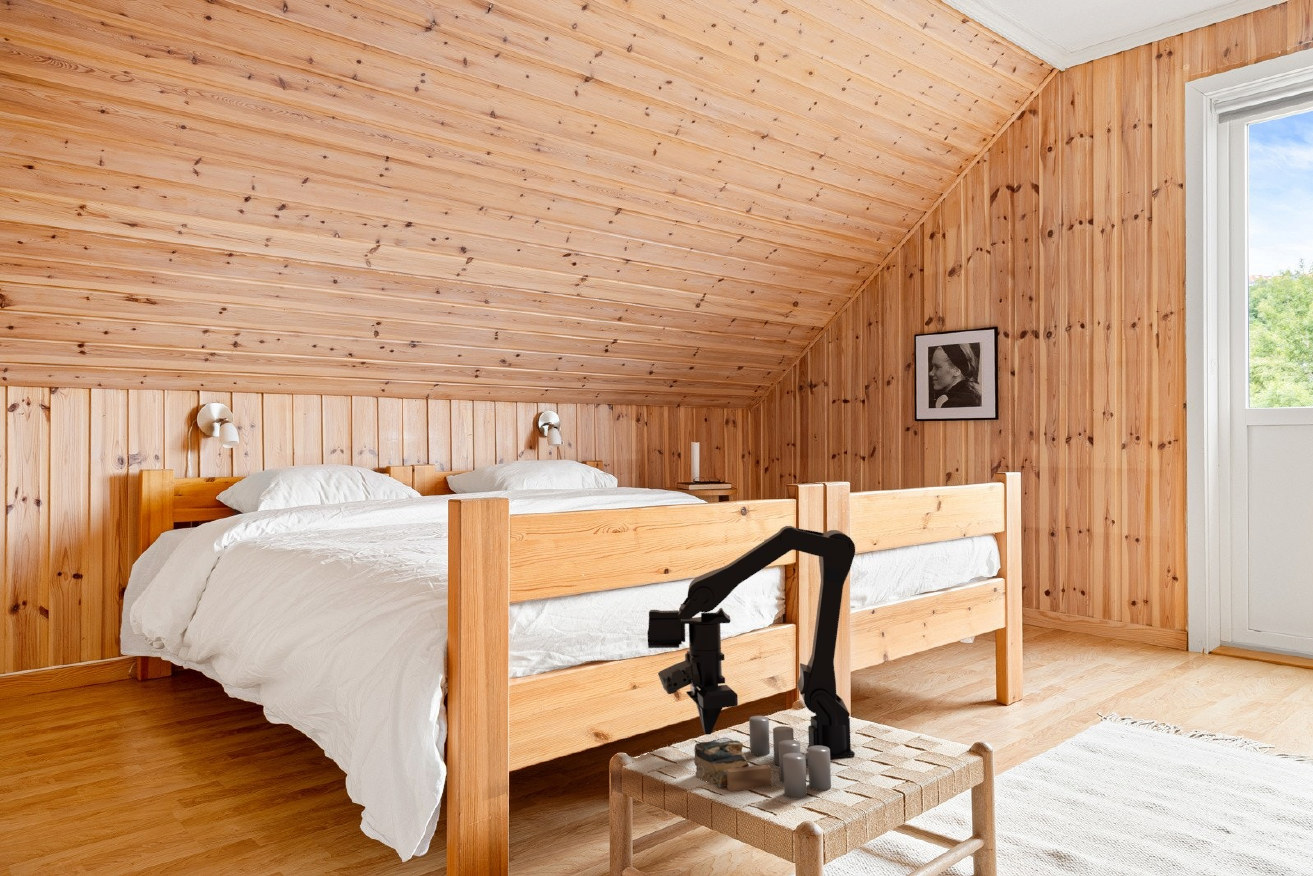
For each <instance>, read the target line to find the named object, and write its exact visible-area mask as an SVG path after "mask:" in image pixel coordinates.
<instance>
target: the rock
mask: <svg viewBox="0 0 1313 876" xmlns="http://www.w3.org/2000/svg"><path fill="white" fill-rule="evenodd" d="M743 748H744V744H743V743H742V742H741V741H739V740H737V739H736V740H734V739H731V738H729V737H721V738H718V739H713V740H710V741H702V742H701V741H700V742H698V743H696V744H695V746H694V750H693V751H694V761H693V762H694V763H693V764H694V766H696V768H695V769H696V772H695V777H696V778H697V779H699V778H700V779H699V780H701V779H702V780H701V781H703V780H704V781H703V782H706V781H707V782H706V783H708V784H715V785H716V786H718V787H719V788H721V787H727V769H733V768H742V767H750V764H749V763H748V760H747V757H746V755H745V753H744V752H743Z"/></svg>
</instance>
